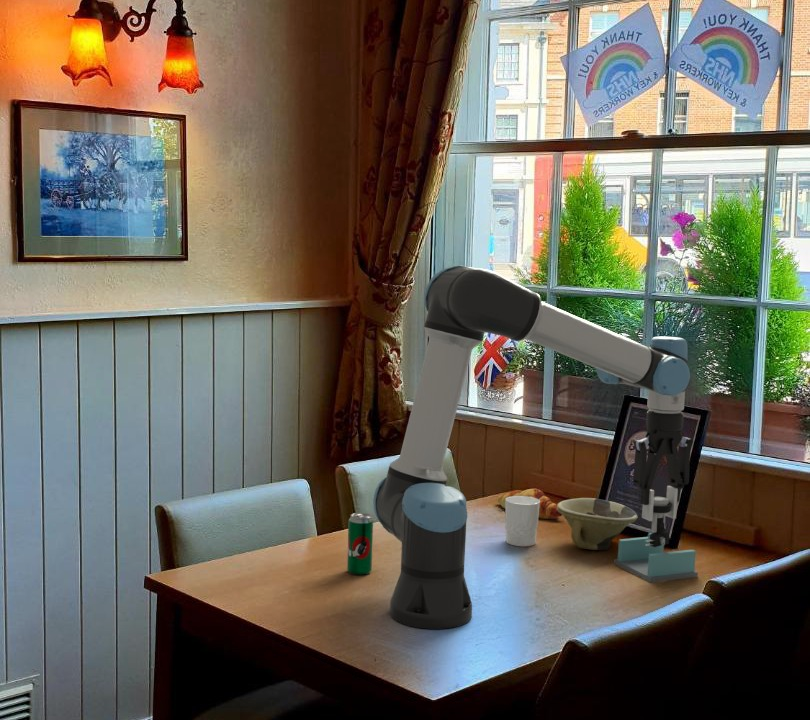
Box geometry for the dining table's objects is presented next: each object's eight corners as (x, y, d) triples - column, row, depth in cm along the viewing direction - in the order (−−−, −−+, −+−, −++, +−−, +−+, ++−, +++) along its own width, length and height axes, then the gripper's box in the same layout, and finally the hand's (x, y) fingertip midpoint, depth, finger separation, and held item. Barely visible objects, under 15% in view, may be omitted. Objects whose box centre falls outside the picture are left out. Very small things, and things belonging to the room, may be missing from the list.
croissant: (490, 519, 276) (481, 494, 273) (512, 496, 282) (504, 472, 279) (555, 535, 261) (547, 510, 258) (577, 511, 267) (569, 485, 264)
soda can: (376, 572, 219) (378, 515, 217) (359, 577, 215) (360, 520, 214) (359, 566, 222) (361, 510, 221) (341, 571, 218) (343, 515, 217)
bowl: (602, 564, 230) (605, 521, 228) (540, 543, 243) (542, 503, 242) (651, 550, 241) (653, 509, 240) (588, 531, 255) (591, 492, 253)
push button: (656, 551, 221) (658, 504, 220) (635, 545, 225) (637, 499, 224) (675, 545, 226) (677, 499, 224) (655, 539, 230) (656, 494, 228)
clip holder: (650, 582, 218) (651, 556, 217) (614, 563, 230) (615, 539, 229) (697, 576, 223) (699, 551, 222) (659, 558, 235) (661, 534, 234)
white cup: (543, 541, 245) (545, 499, 244) (528, 549, 238) (530, 506, 237) (513, 535, 249) (515, 494, 248) (497, 543, 242) (499, 500, 241)
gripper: (639, 415, 215) (633, 526, 218) (712, 411, 222) (705, 519, 225) (618, 409, 222) (612, 516, 225) (689, 405, 229) (683, 510, 232)
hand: (658, 517), depth 225 cm, fingers closed on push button, 5 cm apart
